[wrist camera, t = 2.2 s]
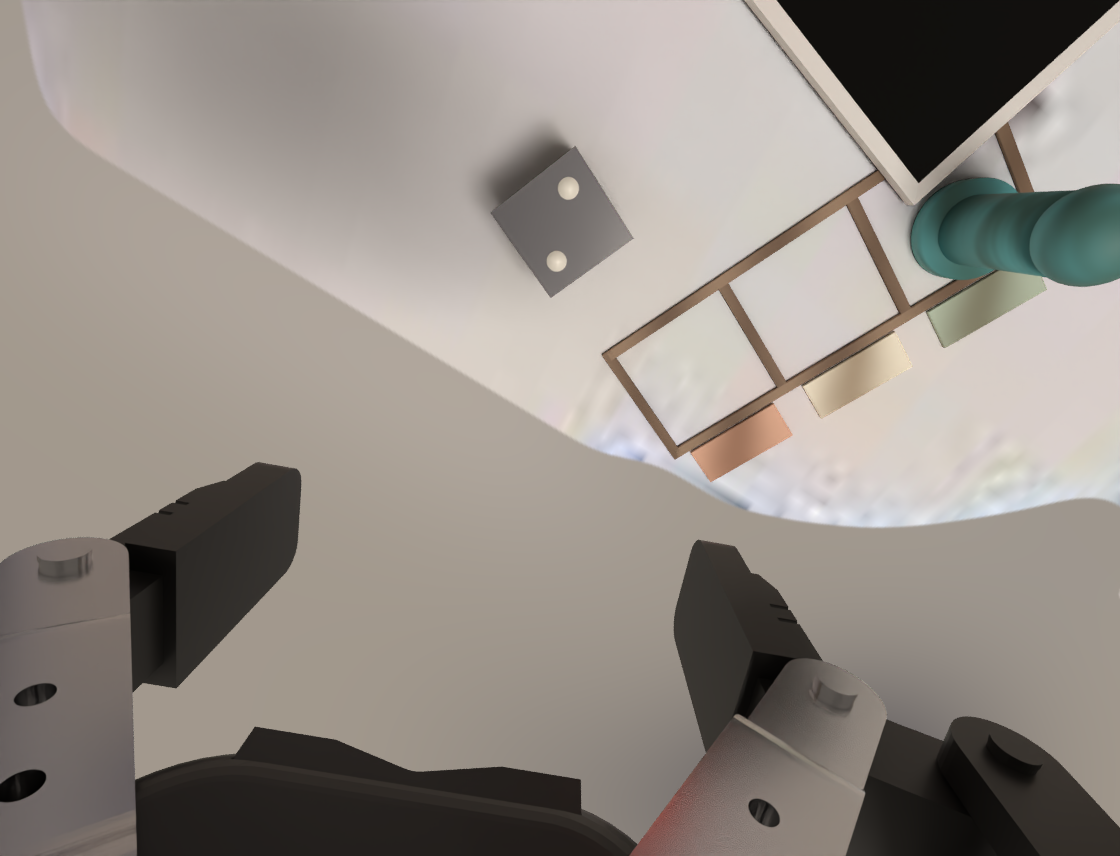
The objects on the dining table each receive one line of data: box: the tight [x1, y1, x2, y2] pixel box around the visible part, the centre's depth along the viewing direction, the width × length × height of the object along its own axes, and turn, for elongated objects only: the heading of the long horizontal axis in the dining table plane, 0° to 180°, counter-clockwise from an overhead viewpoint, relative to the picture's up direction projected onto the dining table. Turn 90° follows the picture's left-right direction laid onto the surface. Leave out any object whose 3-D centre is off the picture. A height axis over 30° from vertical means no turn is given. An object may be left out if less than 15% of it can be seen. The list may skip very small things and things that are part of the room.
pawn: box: [911, 178, 1120, 287], centre depth 27 cm, size 5×5×11 cm
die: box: [491, 146, 634, 298], centre depth 30 cm, size 5×5×5 cm
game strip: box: [602, 122, 1047, 482], centre depth 34 cm, size 24×11×1 cm, turn 125°
